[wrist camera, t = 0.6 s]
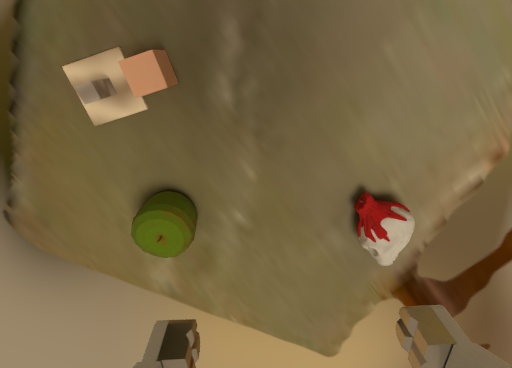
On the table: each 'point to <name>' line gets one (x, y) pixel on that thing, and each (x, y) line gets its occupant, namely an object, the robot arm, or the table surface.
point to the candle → (383, 227)
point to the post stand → (104, 87)
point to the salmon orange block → (148, 72)
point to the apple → (165, 225)
